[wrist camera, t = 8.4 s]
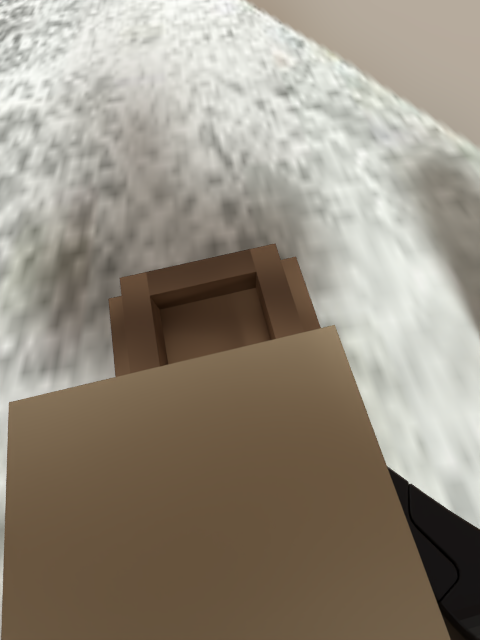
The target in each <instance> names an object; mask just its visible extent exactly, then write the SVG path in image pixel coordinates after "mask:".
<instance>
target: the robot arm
mask: <svg viewBox="0 0 480 640" xmlns="http://www.w3.org/2000/svg"><path fill="white" fill-rule="evenodd" d="M387 468H388V471H389V474H390V476H391V479H392V482H393V484H394V487H395V490H396V493H397V495H398V498H399V501H400V503H401V506H402V509H403V512H404V514H405V517H406V520H407V522H408V525H409V528H410V531H411V533H412V536H413V539H414V541H415V544H416V547H417V549H418V552H419V555H420V558H421V560H422V563H423V566H424V568H425V571H426V574H427V577H428V579H429V582H430V585H431V587H432V590H433V593H434V596H435V598H436V601H437V604H438V606H439V609H440V612H441V615H442V617H443V620H444V623H445V625H446V628H447V631H448V634H449V636H450V639H451V640H480V529H478V528H477V527H475V526H473V525H472V524H470V523H469V522H467V521H465V520H464V519H462V518H461V517H459V516H458V515H456V514H454V513H453V512H451V511H450V510H448V509H447V508H445V507H444V506H442V505H441V504H439V503H438V502H436V501H435V500H434V499H432V498H431V497H429V496H428V495H426V494H425V493H423V492H422V491H421V490H419V489H418V488H417V487H415V486H414V485H412V484H409V482H408V481H407V480H405V479H404V478H403V477H401V476H400V475H398V474H397V473H396V472H394V471H393V470H392V469H390V468H389V467H387Z"/></svg>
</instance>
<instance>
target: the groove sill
mask: <svg viewBox="0 0 480 640" xmlns="http://www.w3.org/2000/svg"><path fill="white" fill-rule="evenodd" d="M120 285H121V294H122V296H119V297H114V298H110V299H109V310H110V321H111V331H112V342H113V353H114V364H115V375H116V377H118V376H122V375H127V374H131V373H135V372H139V371H143V370H148V369H152V368H156V367H160V366H164V365H169V364H173V363H177V362H181V361H185V360H190V359H194V358H198V357H202V356H207V355H211V354H215V353H219V352H223V351H228V350H232V349H236V348H240V347H244V346H249V345H253V344H257V343H261V342H265V341H270V340H274V339H278V338H282V337H286V336H291V335H295V334H299V333H303V332H307V331H312V330H316V329H320V328H321V327H320V325H319V322H318V319H317V316H316V313H315V310H314V307H313V304H312V302H311V299H310V296H309V293H308V290H307V287H306V284H305V281H304V279H303V276H302V273H301V270H300V267H299V264H298V261H297V258H296V257H292V258H288V259H283V260H281V259H280V256H279V253H278V250H277V247H276V244H271V245H266V246H262V247H257V248H253V249H248V250H244V251H239V252H235V253H230V254H226V255H221V256H217V257H212V258H208V259H203V260H199V261H194V262H190V263H185V264H181V265H176V266H172V267H167V268H163V269H158V270H154V271H149V272H145V273H140V274H136V275H131V276H127V277H122V278H120Z"/></svg>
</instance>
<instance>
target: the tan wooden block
mask: <svg viewBox="0 0 480 640" xmlns="http://www.w3.org/2000/svg"><path fill="white" fill-rule="evenodd" d="M1 640H451V639H450V636H449V634H448V631H447V628H446V625H445V623H444V620H443V617H442V615H441V612H440V609H439V606H438V604H437V601H436V598H435V596H434V593H433V590H432V587H431V585H430V582H429V579H428V577H427V574H426V571H425V568H424V566H423V563H422V560H421V558H420V555H419V552H418V549H417V547H416V544H415V541H414V539H413V536H412V533H411V531H410V528H409V525H408V522H407V520H406V517H405V514H404V512H403V509H402V506H401V503H400V501H399V498H398V495H397V493H396V490H395V487H394V484H393V482H392V479H391V476H390V474H389V471H388V468H387V465H386V463H385V460H384V457H383V455H382V452H381V449H380V447H379V444H378V441H377V438H376V436H375V433H374V430H373V428H372V425H371V422H370V419H369V417H368V414H367V411H366V409H365V406H364V403H363V400H362V398H361V395H360V392H359V390H358V387H357V384H356V381H355V379H354V376H353V373H352V371H351V368H350V365H349V362H348V360H347V357H346V354H345V352H344V349H343V346H342V344H341V341H340V338H339V335H338V333H337V330H336V327H335V325H333V326H328V327H324V328H320V329H316V330H312V331H307V332H303V333H299V334H295V335H291V336H286V337H282V338H278V339H274V340H270V341H265V342H261V343H257V344H253V345H249V346H244V347H240V348H236V349H232V350H228V351H223V352H219V353H215V354H211V355H207V356H202V357H198V358H194V359H190V360H185V361H181V362H177V363H173V364H169V365H164V366H160V367H156V368H152V369H148V370H143V371H139V372H135V373H131V374H127V375H122V376H118V377H114V378H110V379H106V380H101V381H97V382H93V383H89V384H85V385H80V386H76V387H72V388H68V389H64V390H59V391H55V392H51V393H47V394H43V395H38V396H34V397H30V398H26V399H22V400H17V401H13V402H9V417H8V448H7V478H6V509H5V540H4V571H3V601H2V632H1Z"/></svg>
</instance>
